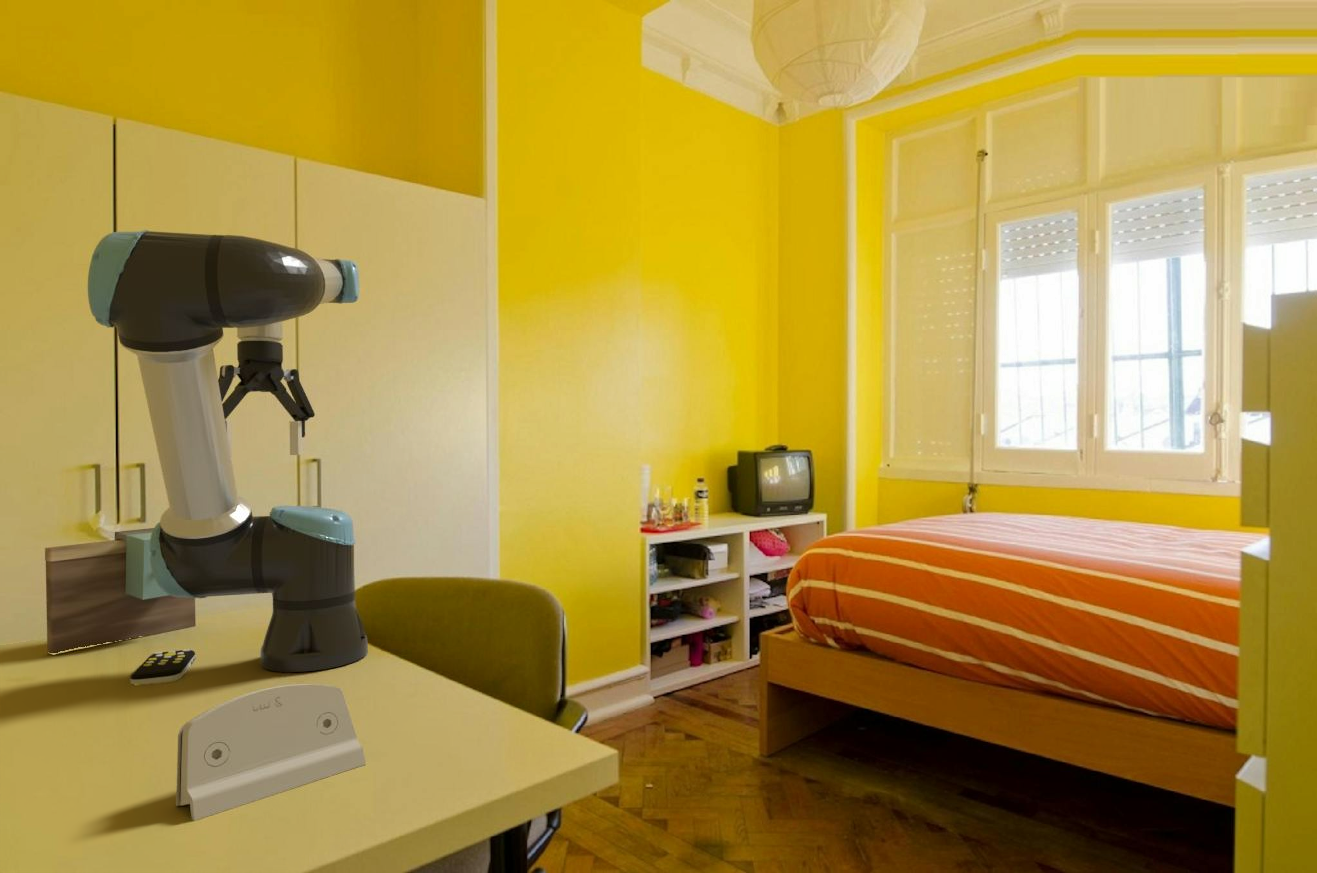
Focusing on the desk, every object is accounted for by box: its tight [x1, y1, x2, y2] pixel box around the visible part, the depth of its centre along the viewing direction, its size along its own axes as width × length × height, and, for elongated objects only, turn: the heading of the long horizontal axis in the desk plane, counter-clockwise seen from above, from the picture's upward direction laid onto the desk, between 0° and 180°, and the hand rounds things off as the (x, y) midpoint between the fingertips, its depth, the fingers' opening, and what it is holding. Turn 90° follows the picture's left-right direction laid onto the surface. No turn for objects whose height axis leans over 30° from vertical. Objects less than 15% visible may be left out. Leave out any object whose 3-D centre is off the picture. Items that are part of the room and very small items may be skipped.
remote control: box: [130, 648, 196, 685], centre depth 116 cm, size 6×13×2 cm, turn 21°
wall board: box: [44, 539, 196, 653], centre depth 135 cm, size 2×22×17 cm, turn 148°
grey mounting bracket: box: [175, 683, 366, 822], centre depth 79 cm, size 17×5×10 cm, turn 136°
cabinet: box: [114, 527, 168, 600], centre depth 136 cm, size 11×7×10 cm, turn 58°
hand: (262, 456), depth 146 cm, fingers open, 13 cm apart
